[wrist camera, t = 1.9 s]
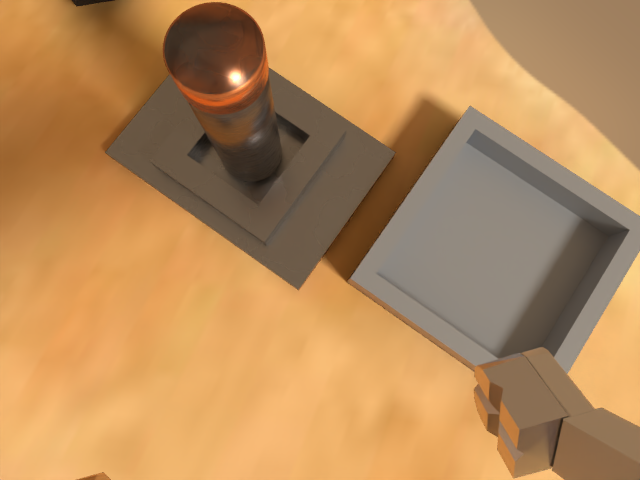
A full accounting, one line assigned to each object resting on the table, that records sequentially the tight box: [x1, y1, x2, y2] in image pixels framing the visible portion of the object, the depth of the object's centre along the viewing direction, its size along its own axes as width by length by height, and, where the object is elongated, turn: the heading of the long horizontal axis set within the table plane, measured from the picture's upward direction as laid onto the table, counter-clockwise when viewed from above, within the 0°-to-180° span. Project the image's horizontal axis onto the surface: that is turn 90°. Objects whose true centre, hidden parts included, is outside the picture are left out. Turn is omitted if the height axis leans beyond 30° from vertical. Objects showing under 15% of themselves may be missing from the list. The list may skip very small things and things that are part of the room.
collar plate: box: [105, 67, 396, 290], centre depth 28 cm, size 14×10×2 cm
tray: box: [347, 106, 640, 374], centre depth 27 cm, size 12×12×2 cm
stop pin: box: [163, 2, 282, 182], centre depth 23 cm, size 4×4×11 cm
